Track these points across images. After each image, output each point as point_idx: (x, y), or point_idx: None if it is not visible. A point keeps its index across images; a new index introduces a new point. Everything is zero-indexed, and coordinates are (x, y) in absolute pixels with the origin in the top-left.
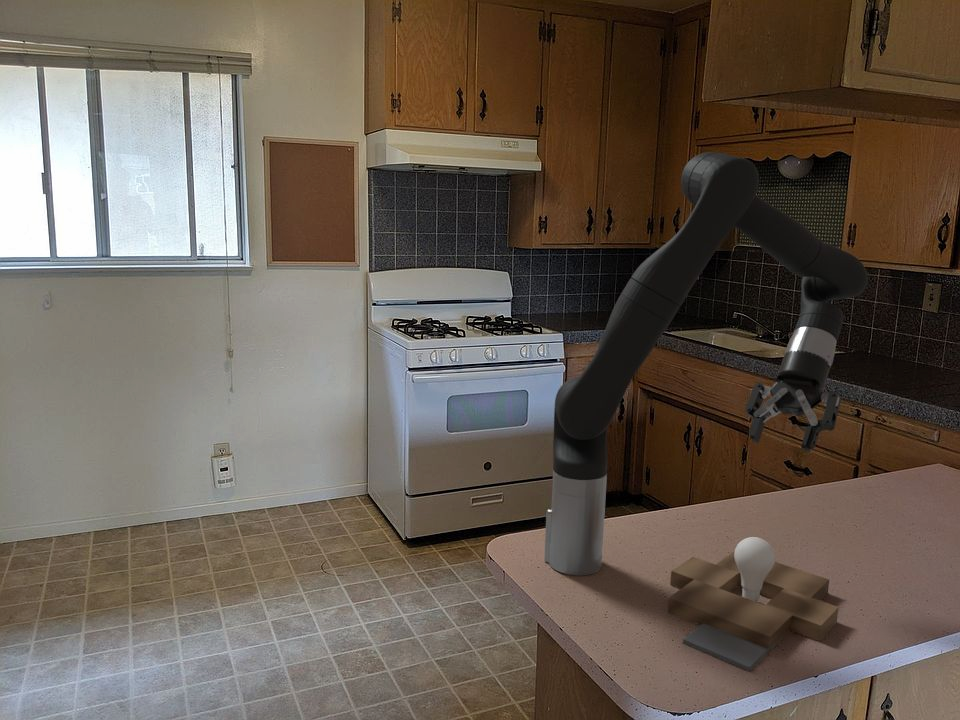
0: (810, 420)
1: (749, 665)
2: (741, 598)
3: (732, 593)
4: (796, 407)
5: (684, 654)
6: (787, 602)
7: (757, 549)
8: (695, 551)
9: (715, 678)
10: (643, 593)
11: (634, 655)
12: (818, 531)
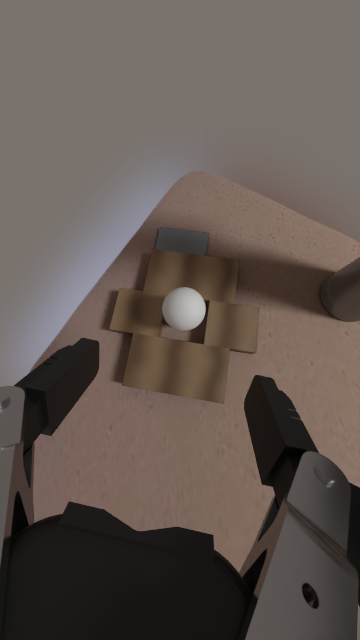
0: (10, 413)
1: (160, 229)
2: None
3: None
4: (66, 541)
5: (202, 223)
6: (150, 310)
7: (178, 290)
8: None
9: (176, 211)
10: (266, 283)
11: (229, 205)
12: None
